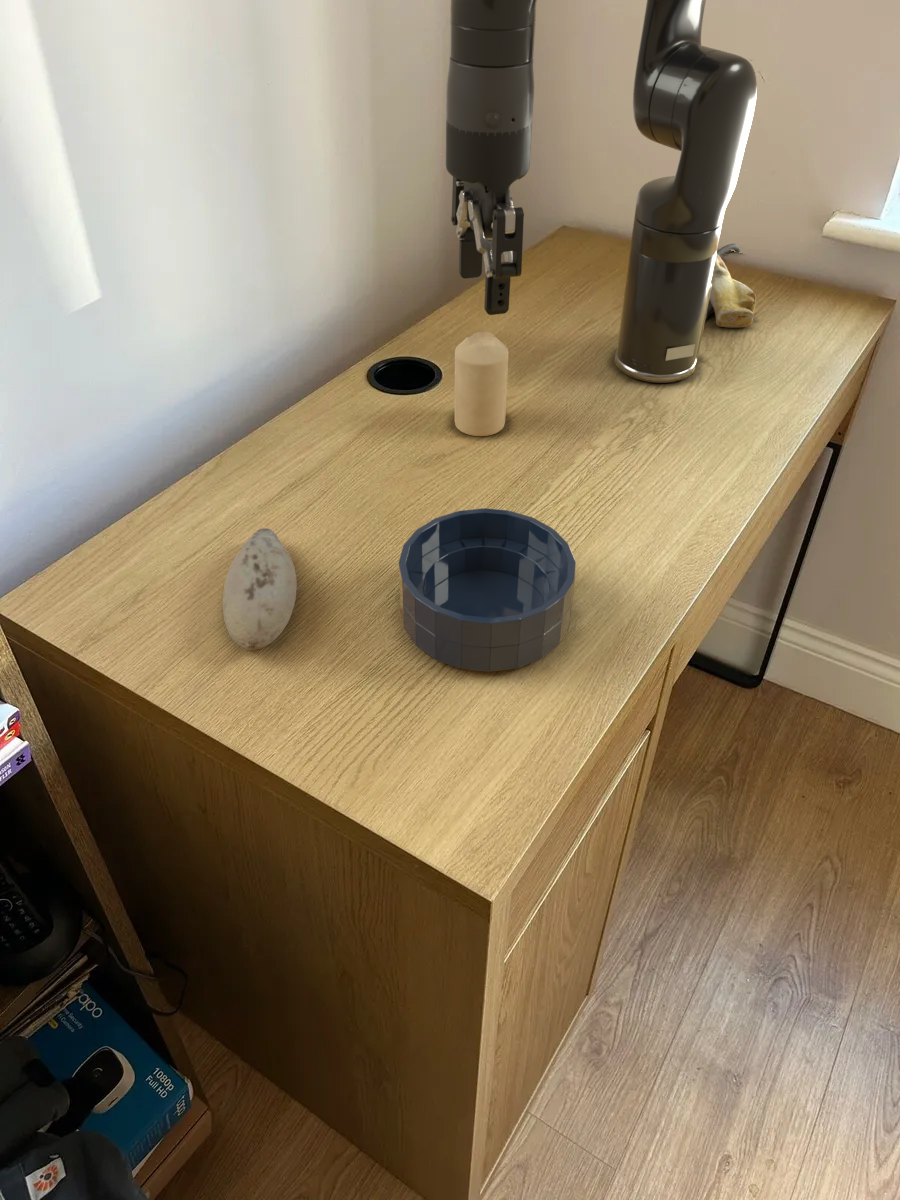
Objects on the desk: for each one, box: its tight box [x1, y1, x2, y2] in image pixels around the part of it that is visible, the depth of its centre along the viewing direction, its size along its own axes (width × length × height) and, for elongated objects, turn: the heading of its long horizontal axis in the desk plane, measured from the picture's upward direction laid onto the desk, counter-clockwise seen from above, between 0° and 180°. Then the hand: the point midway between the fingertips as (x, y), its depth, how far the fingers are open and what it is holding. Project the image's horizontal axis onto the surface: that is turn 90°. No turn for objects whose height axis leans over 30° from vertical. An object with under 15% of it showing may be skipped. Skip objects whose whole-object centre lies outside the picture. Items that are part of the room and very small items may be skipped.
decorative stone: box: [222, 527, 298, 651], centre depth 82 cm, size 6×16×3 cm, turn 7°
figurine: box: [709, 254, 757, 329], centre depth 125 cm, size 5×5×15 cm
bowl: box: [398, 507, 577, 673], centre depth 80 cm, size 14×14×6 cm
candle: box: [453, 331, 510, 437], centre depth 101 cm, size 6×6×10 cm
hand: (482, 293), depth 94 cm, fingers open, 8 cm apart
